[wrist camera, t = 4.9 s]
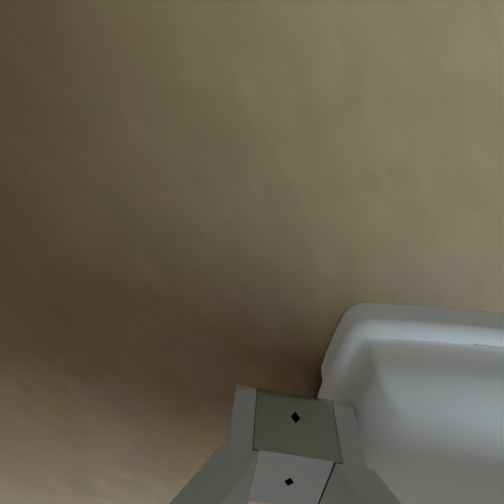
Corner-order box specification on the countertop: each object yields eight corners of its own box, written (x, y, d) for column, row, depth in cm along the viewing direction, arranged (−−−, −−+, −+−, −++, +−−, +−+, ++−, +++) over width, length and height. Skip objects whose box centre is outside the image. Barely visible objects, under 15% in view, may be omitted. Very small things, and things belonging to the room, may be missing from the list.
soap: (680, 336, 9) (837, 438, 7) (550, 486, 12) (622, 596, 10) (340, 289, 9) (364, 371, 7) (295, 450, 12) (300, 549, 10)
